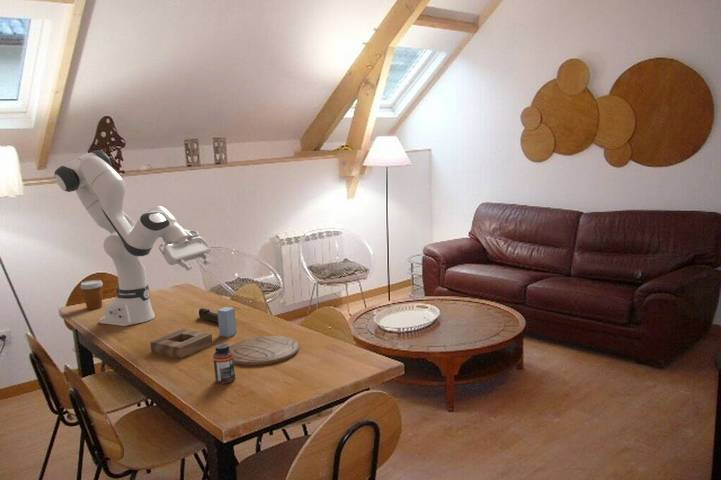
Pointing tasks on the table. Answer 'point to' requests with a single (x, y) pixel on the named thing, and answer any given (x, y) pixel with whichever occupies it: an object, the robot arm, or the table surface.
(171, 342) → the walnut holder
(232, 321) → the square post
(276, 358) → the trivet
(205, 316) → the hand tool
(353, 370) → the table surface
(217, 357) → the supplement bottle
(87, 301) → the disposable coffee cup
